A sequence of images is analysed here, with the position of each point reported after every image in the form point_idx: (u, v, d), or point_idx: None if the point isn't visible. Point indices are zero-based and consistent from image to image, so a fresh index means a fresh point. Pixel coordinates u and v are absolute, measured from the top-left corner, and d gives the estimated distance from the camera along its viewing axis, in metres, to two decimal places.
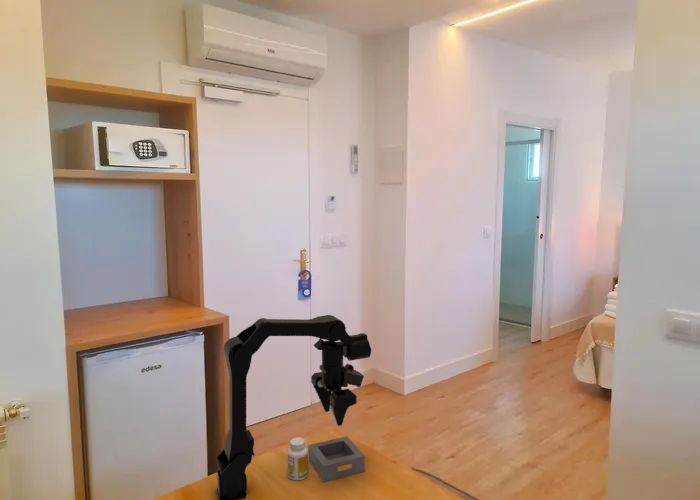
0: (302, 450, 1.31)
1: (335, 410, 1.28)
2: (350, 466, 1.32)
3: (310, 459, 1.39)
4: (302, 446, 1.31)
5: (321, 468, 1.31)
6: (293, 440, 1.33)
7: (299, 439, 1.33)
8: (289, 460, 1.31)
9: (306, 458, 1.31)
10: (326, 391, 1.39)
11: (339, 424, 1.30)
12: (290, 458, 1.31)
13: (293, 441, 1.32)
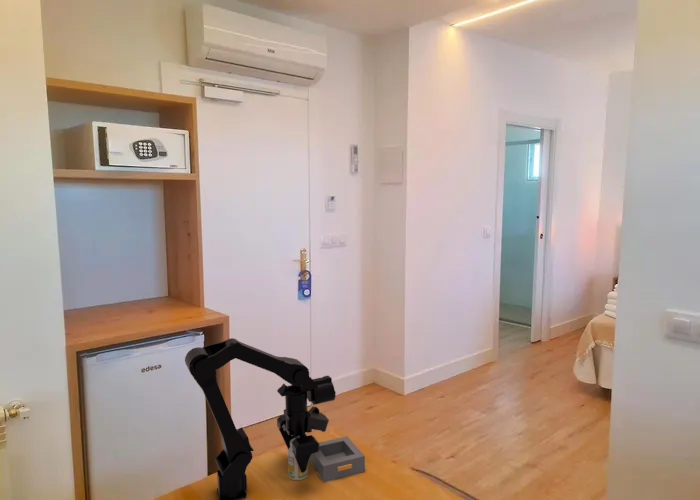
0: None
1: (298, 457, 1.26)
2: (350, 466, 1.32)
3: (310, 459, 1.39)
4: None
5: (321, 468, 1.31)
6: (293, 440, 1.33)
7: None
8: (289, 460, 1.31)
9: None
10: None
11: (302, 471, 1.28)
12: (290, 458, 1.31)
13: None
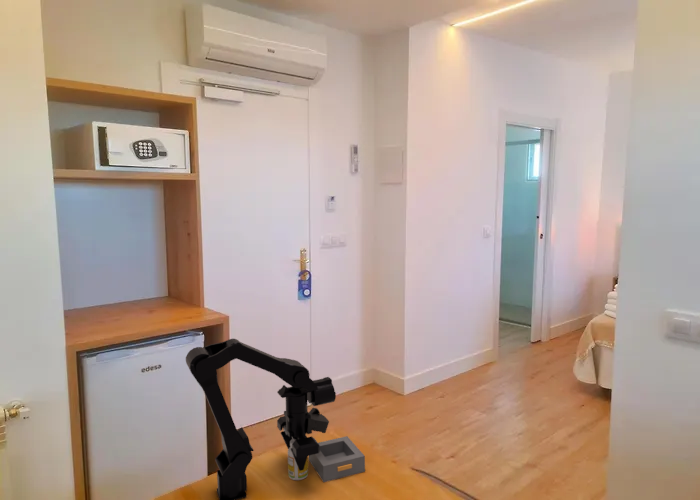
0: None
1: (296, 456, 1.27)
2: (350, 466, 1.32)
3: (310, 459, 1.39)
4: None
5: (321, 468, 1.31)
6: (293, 440, 1.33)
7: None
8: (289, 460, 1.31)
9: None
10: None
11: (301, 469, 1.30)
12: (290, 458, 1.31)
13: (293, 441, 1.32)
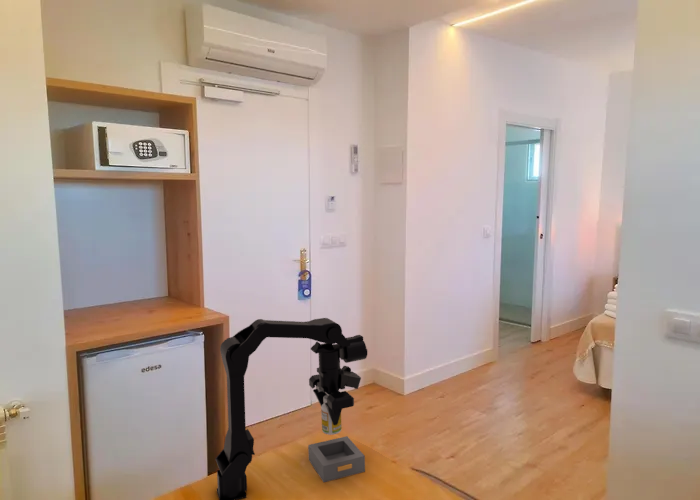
0: None
1: (330, 410, 1.30)
2: (350, 466, 1.32)
3: (310, 459, 1.39)
4: None
5: (321, 468, 1.31)
6: (326, 396, 1.35)
7: None
8: (323, 415, 1.34)
9: None
10: None
11: (335, 423, 1.33)
12: (324, 413, 1.33)
13: (326, 397, 1.35)
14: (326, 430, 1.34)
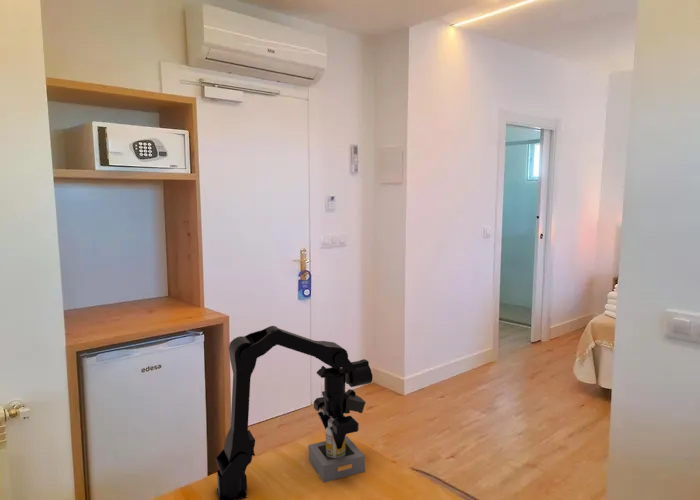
0: None
1: (335, 434, 1.31)
2: (350, 466, 1.32)
3: (310, 459, 1.39)
4: None
5: (321, 468, 1.31)
6: (331, 420, 1.36)
7: None
8: (327, 439, 1.35)
9: None
10: None
11: (339, 447, 1.34)
12: (328, 437, 1.34)
13: (331, 420, 1.36)
14: (330, 454, 1.35)
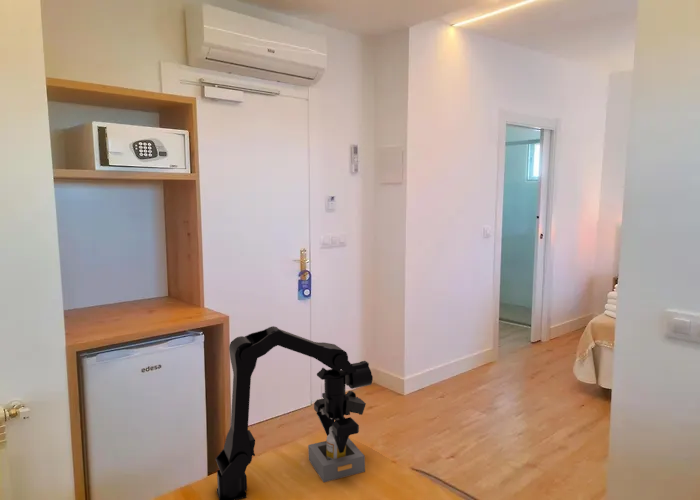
0: None
1: (337, 438, 1.30)
2: (350, 466, 1.32)
3: (310, 459, 1.39)
4: None
5: (321, 468, 1.31)
6: None
7: None
8: (328, 446, 1.35)
9: None
10: (329, 418, 1.40)
11: (341, 451, 1.33)
12: (330, 444, 1.35)
13: None
14: None
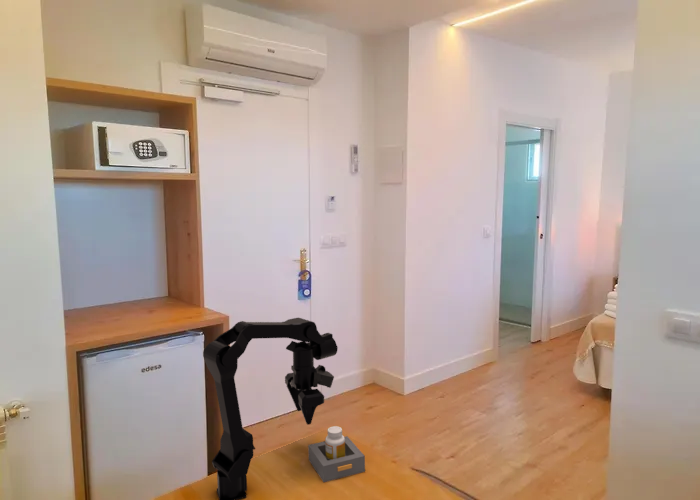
0: (340, 438, 1.35)
1: (303, 409, 1.32)
2: (350, 466, 1.32)
3: (310, 459, 1.39)
4: (340, 434, 1.35)
5: (321, 468, 1.31)
6: (330, 429, 1.36)
7: (336, 427, 1.37)
8: (327, 448, 1.35)
9: (344, 445, 1.36)
10: (298, 391, 1.43)
11: (308, 423, 1.35)
12: (329, 446, 1.34)
13: (330, 429, 1.36)
14: None
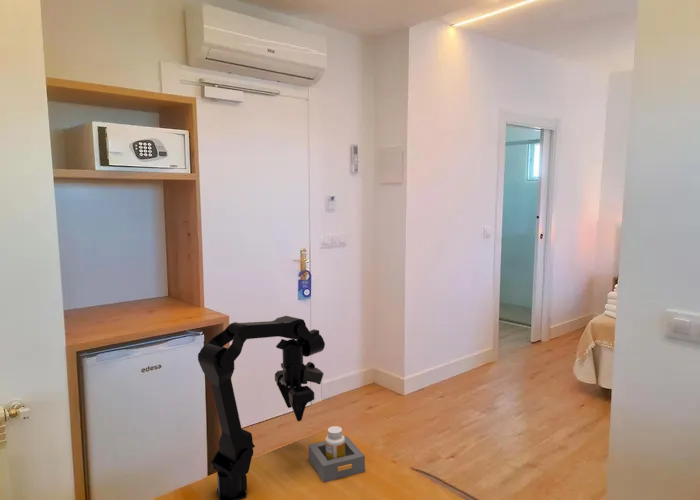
0: (340, 438, 1.35)
1: (294, 406, 1.34)
2: (350, 466, 1.32)
3: (310, 459, 1.39)
4: (340, 434, 1.35)
5: (321, 468, 1.31)
6: (330, 429, 1.36)
7: (336, 427, 1.37)
8: (328, 448, 1.35)
9: (344, 445, 1.36)
10: (288, 388, 1.45)
11: (299, 419, 1.36)
12: (329, 446, 1.34)
13: (331, 429, 1.36)
14: None
